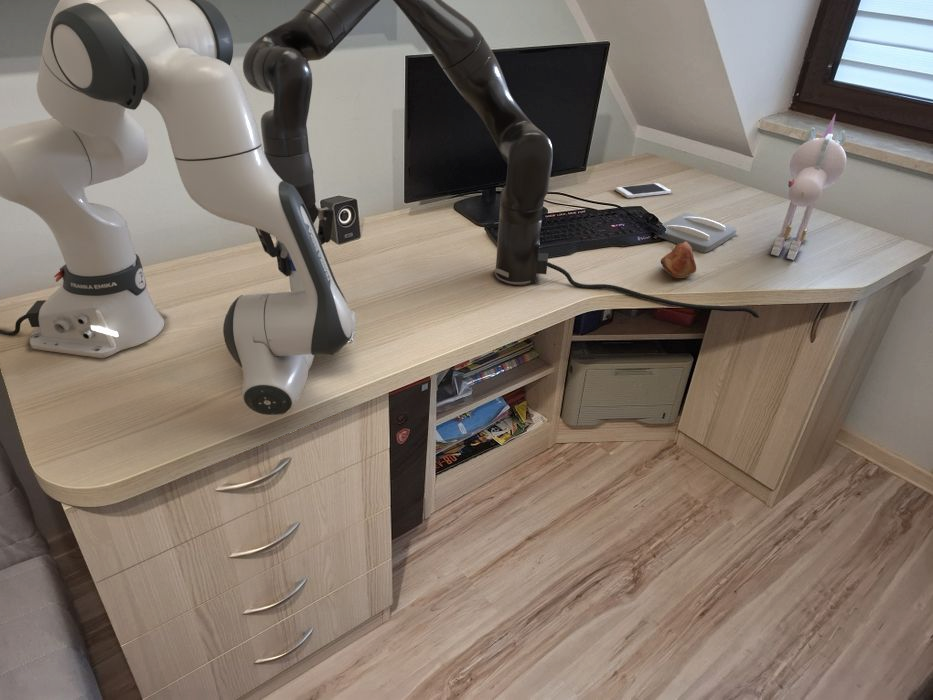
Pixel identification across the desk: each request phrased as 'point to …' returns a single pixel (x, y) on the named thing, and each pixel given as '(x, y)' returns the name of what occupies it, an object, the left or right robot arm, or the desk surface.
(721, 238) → the light switch
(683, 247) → the fossil
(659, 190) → the smartphone
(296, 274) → the jar
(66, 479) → the desk surface
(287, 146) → the right robot arm
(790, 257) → the toy
